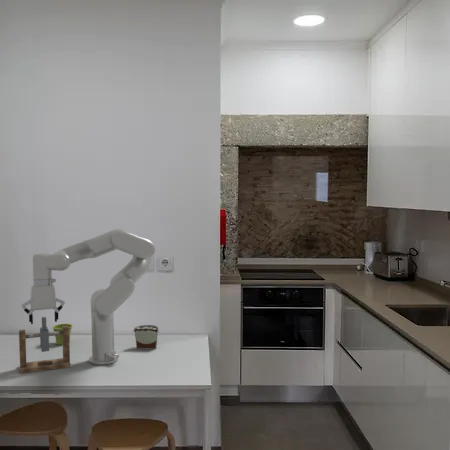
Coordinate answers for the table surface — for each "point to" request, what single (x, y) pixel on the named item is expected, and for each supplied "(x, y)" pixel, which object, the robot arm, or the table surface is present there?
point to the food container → (146, 336)
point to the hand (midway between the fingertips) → (43, 322)
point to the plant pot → (59, 328)
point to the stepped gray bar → (44, 336)
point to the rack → (36, 365)
